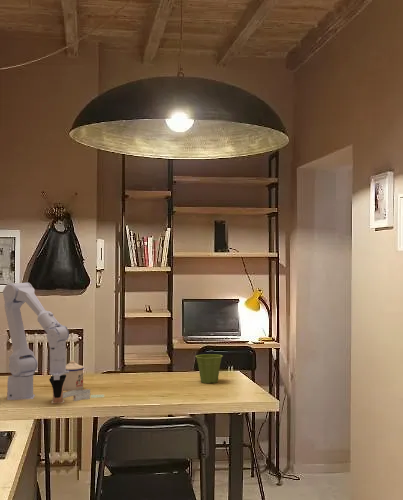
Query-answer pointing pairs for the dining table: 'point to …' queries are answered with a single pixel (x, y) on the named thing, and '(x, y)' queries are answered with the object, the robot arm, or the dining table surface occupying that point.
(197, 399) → the dining table surface
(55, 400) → the peg
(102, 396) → the board
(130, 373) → the dining table surface
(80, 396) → the rails
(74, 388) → the teacup with lid
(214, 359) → the plant pot
